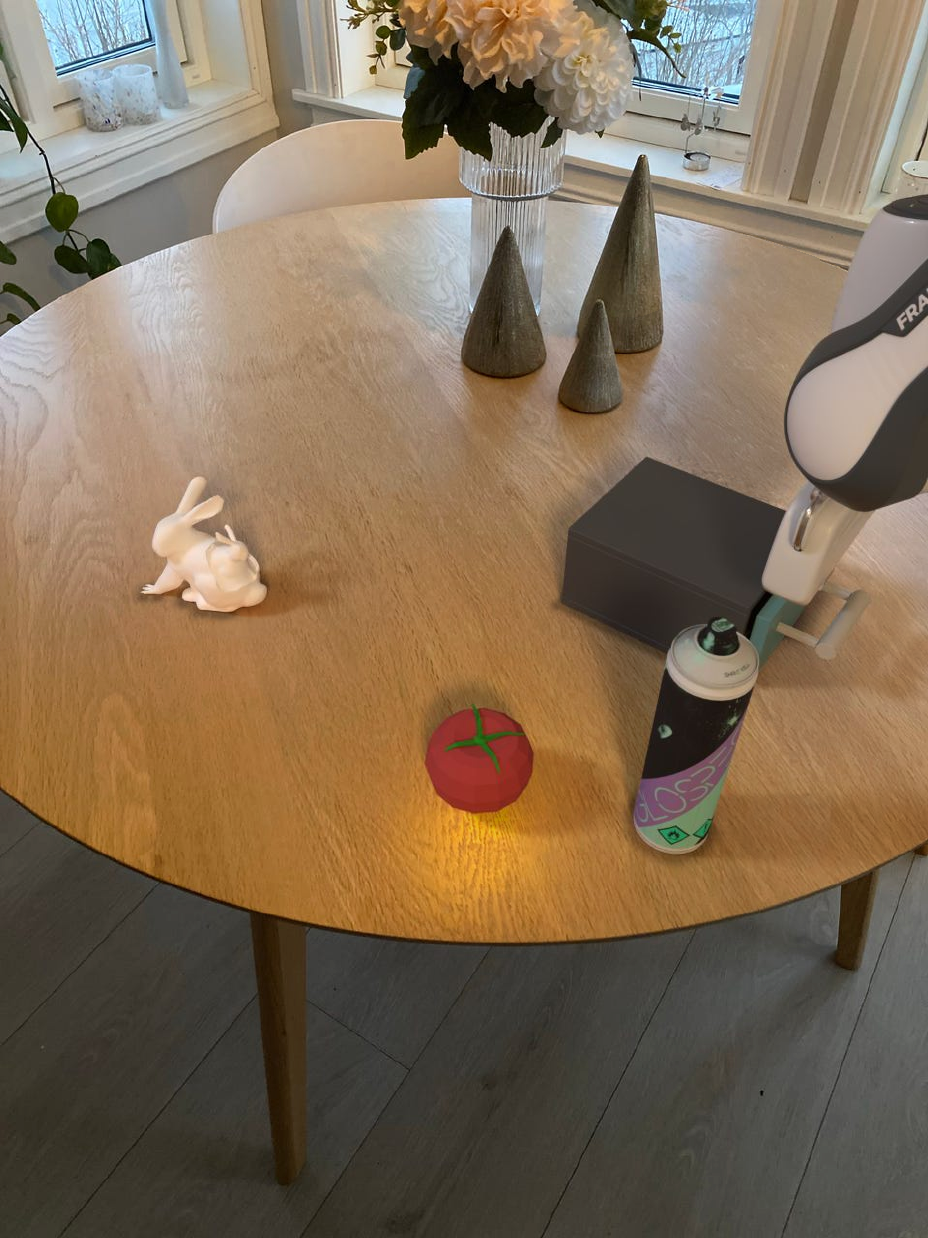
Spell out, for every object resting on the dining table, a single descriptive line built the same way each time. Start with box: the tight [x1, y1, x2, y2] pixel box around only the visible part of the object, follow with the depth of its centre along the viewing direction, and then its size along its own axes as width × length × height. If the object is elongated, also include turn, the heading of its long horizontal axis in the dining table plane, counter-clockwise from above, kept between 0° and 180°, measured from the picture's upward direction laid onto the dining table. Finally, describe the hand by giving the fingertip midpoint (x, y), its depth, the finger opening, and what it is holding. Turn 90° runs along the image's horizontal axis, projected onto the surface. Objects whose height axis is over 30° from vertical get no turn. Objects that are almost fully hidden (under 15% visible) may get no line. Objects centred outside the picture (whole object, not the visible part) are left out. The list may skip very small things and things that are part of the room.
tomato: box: [424, 702, 535, 815], centre depth 69 cm, size 8×8×8 cm
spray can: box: [633, 617, 759, 855], centre depth 63 cm, size 6×6×20 cm
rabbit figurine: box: [140, 476, 268, 613], centre depth 85 cm, size 12×8×10 cm, turn 67°
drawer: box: [744, 581, 872, 673], centre depth 83 cm, size 20×12×7 cm, turn 53°
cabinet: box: [560, 456, 787, 655], centre depth 85 cm, size 17×14×9 cm
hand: (815, 578), depth 77 cm, fingers closed
